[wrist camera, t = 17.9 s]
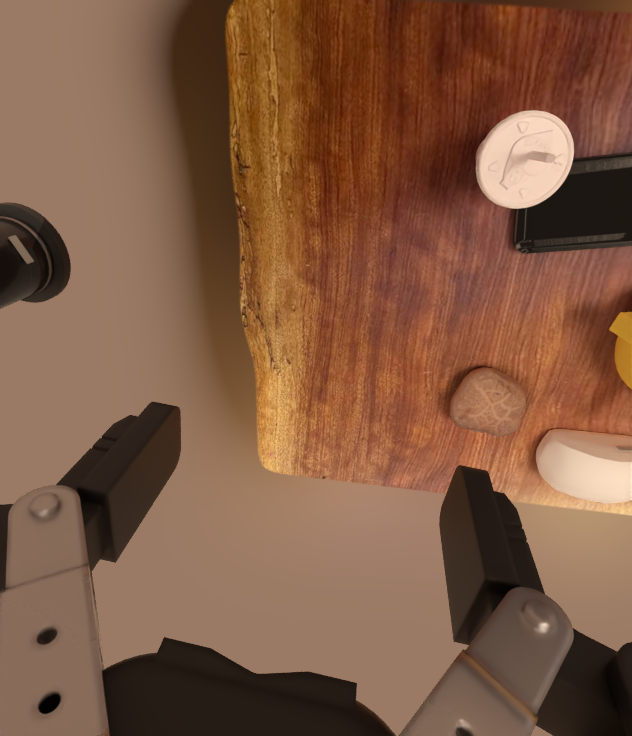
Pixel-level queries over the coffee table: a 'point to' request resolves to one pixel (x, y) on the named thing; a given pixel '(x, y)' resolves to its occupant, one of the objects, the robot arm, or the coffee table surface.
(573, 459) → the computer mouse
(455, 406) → the mushroom
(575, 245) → the phone
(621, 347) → the teapot
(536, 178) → the smoothie
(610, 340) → the coffee table surface
